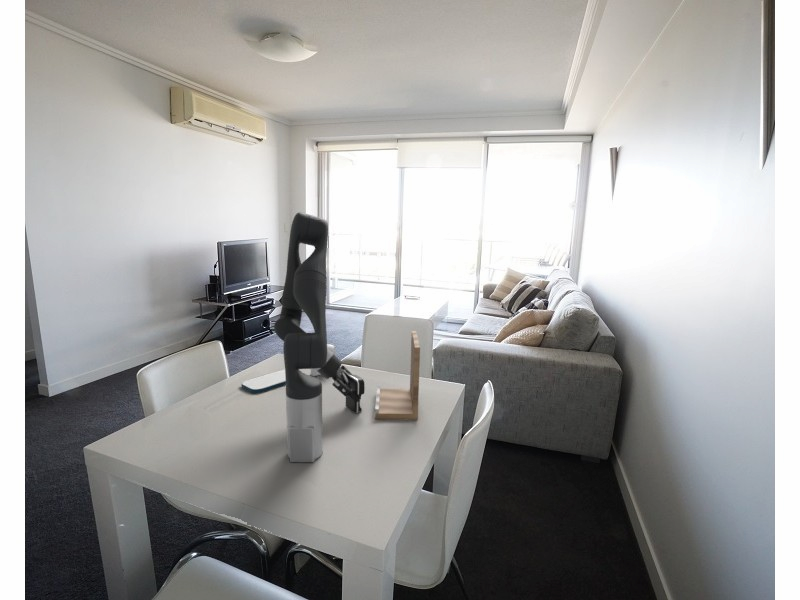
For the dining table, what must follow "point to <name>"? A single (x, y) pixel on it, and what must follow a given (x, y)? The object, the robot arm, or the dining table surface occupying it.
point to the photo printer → (314, 371)
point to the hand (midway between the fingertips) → (359, 395)
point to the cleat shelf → (401, 392)
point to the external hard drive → (265, 382)
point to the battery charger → (359, 388)
